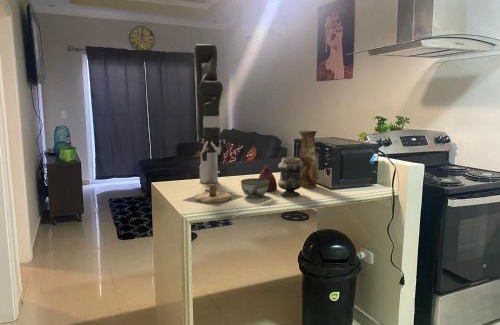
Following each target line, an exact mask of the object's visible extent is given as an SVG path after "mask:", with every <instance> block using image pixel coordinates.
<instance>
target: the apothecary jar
mask: <svg viewBox="0 0 500 325" xmlns="http://www.w3.org/2000/svg"><path fill="white" fill-rule="evenodd" d="M277 168H278V169H279V172H280V176H279V177H280V178H279V179H278V181H277V187H278V188H280V189H282V190H284V191H282V192H280V194H279V196H280V195H281V197H283V198H298V197H300V196H301V194H300V192H297V191H296V190H299V189H301V188H303V187H302V185H303V182H302V181H301V180H300V170H301V169H302V168H303V165H302V164H301V163H300V158H299V157H282V158H281V162H279V163H278V166H277Z"/></svg>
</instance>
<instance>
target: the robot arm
mask: <svg viewBox="0 0 500 325" xmlns="http://www.w3.org/2000/svg"><path fill="white" fill-rule="evenodd" d="M217 48H218V47H217V46H216V45H215V44H211V43H209V44H207V43H198V44H197V43H196V45H195V47H194V61H195V62H194V63H195V72H196V104H197V105H196V106H197V108H196V109H197V121H196V122H197V123H196V124H197V127H196V128H197V129H196V130H197V131H196V132H197V138H198V144H197V146H198V148H197V151H198V152H200V165H199V168H198V169H199V182H200V183H201V184H216V183H218V181H219V179H218V177H219V176H218V175H219V174H218V163H223V161H224V160H223V156H224V155H223V154H226V153H227V151H228V150H227V140H226V139H221V138H220V137H221V119H220V104H221V99H222V98H221V97H222V95H223V91H224V90H223V89H224V87H223V84H222V82H221V81H219V80H218V72H217V70H218V69H217V67H218V49H217ZM202 64H205V65H204V66H203V65H202Z"/></svg>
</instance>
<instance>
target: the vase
mask: <svg viewBox="0 0 500 325" xmlns="http://www.w3.org/2000/svg"><path fill="white" fill-rule="evenodd" d="M298 132H299V134H300V136H301V149H300V158H299V160H300V163H301V164H302V165H303V168H302V169H301V170H300V180H301V181H302V182H303V185H302V187H301V188H306V189H312V188H313V189H315V188H317V187H318V185H317V182H318V179H319V167H318V158H317V152H316V143H315V136H316V134H317V132H318V130H317V129H312V130H311V129H308V130H307V129H300V130H298Z"/></svg>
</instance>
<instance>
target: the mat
mask: <svg viewBox="0 0 500 325" xmlns="http://www.w3.org/2000/svg"><path fill="white" fill-rule="evenodd" d="M194 196H195V195H194ZM194 196H191V197H188V198H185V199H182V201H183V202H189V203H194V204H195V203H196V204H201V205H207V206H208V205H209V206H214V207H219V206H222V205H225V204H227V203H229V202H232V201H235V200H238V199H240V198H243V197H244V196H243V195H236V194H231V199H230V200H228V201H225V202H219V203H203V202H198V201H196V200H195V199H194Z"/></svg>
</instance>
